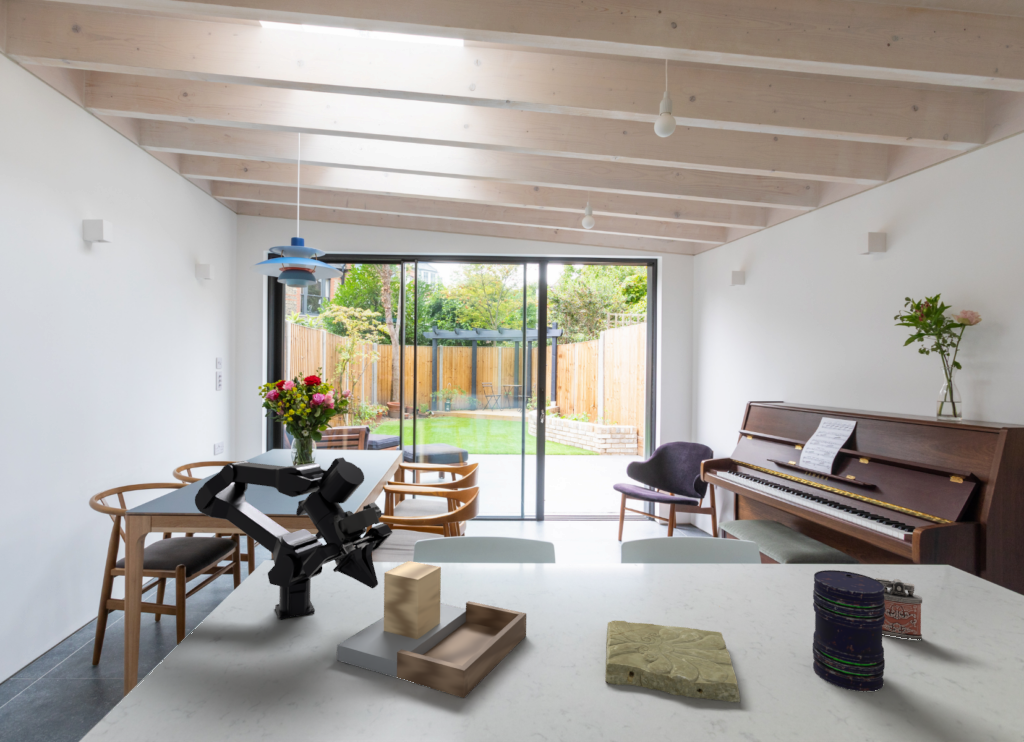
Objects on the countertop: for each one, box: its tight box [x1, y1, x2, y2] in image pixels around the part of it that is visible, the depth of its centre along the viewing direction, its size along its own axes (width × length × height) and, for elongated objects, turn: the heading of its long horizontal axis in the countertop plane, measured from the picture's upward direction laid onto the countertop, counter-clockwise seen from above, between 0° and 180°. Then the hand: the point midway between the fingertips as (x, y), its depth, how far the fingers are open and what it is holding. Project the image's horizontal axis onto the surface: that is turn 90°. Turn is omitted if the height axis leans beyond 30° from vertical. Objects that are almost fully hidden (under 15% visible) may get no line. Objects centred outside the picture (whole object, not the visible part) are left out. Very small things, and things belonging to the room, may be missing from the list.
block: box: [383, 560, 442, 639], centre depth 100 cm, size 7×7×10 cm
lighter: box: [874, 577, 923, 640], centre depth 104 cm, size 8×3×10 cm, turn 65°
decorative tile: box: [604, 620, 741, 703], centre depth 93 cm, size 19×20×4 cm
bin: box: [397, 600, 527, 699], centre depth 95 cm, size 12×22×4 cm, turn 154°
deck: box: [336, 602, 466, 678], centre depth 100 cm, size 12×22×2 cm, turn 154°
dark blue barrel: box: [812, 569, 886, 693], centre depth 90 cm, size 10×10×15 cm
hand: (375, 586), depth 103 cm, fingers closed
